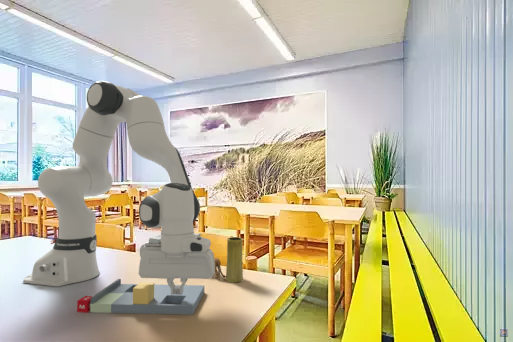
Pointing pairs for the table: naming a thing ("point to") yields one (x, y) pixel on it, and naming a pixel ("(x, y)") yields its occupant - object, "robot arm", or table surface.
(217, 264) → the lion figurine
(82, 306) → the red letter cube
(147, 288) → the block
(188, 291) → the board
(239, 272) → the vase
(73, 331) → the table surface
